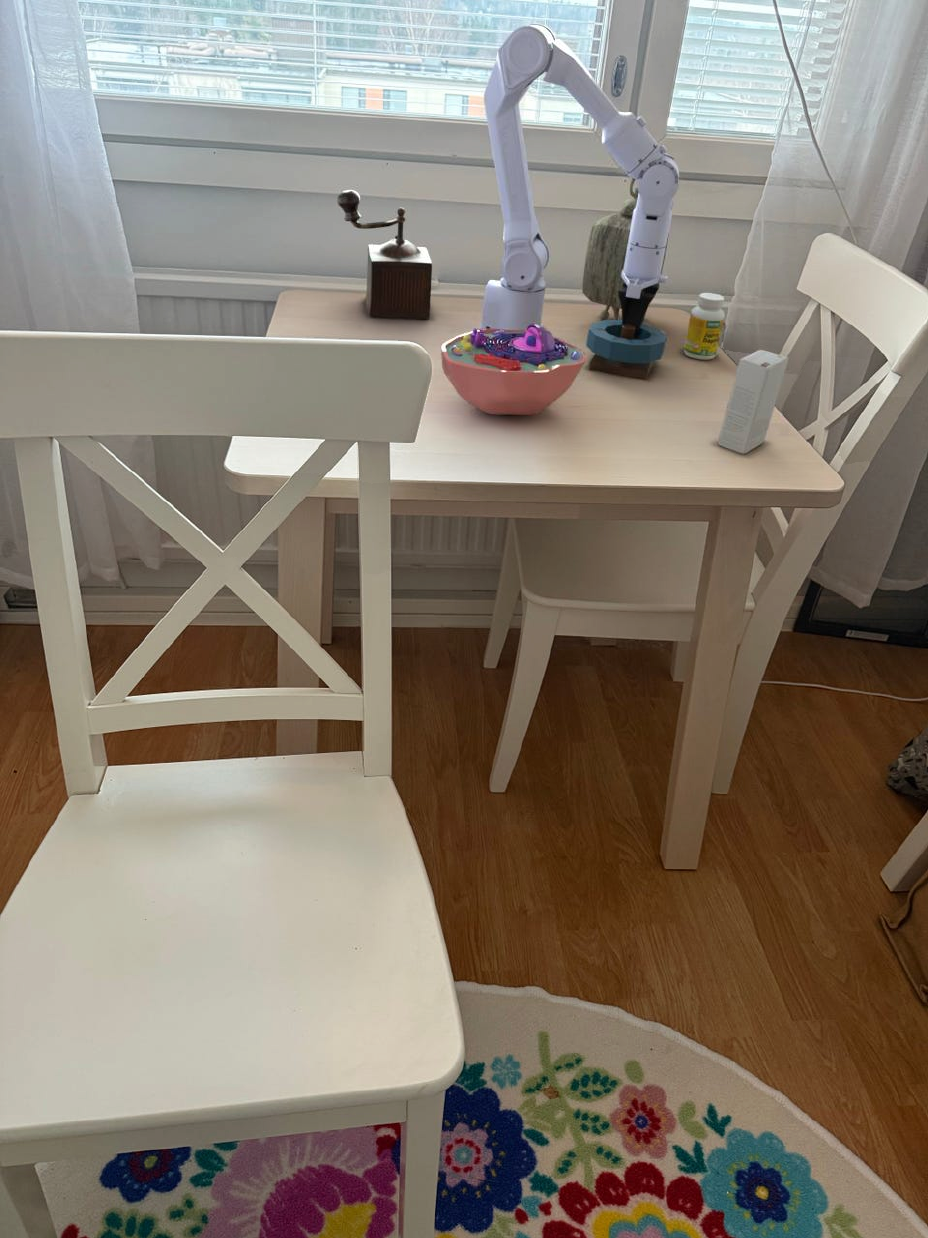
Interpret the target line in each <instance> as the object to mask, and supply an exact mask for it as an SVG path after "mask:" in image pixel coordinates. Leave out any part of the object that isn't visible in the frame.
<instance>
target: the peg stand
mask: <svg viewBox="0 0 928 1238" xmlns="http://www.w3.org/2000/svg"><path fill="white" fill-rule="evenodd" d="M634 333H635V326H633V325H623V326H622V331H621V337H620V338H624V339H629V340H633V338H634ZM654 363H655V361H653V362H650V363H627V362H621V361H616V360H610V359H607V358H604V357H602V356H599V355H597V354H594V355H593V356H592V358H591V359H590V361H589V366H588V370H591V371H596V372H603V373H607V374H614V375H619V376H622V377H623V376H624V377H629V378H634V379H640V380H647V379H648V377H649V375H650V372H651V370H652V368H653V365H654Z"/></svg>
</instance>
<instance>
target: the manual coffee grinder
mask: <svg viewBox="0 0 928 1238" xmlns="http://www.w3.org/2000/svg"><path fill="white" fill-rule="evenodd" d="M336 201H337V205H338V206H339V207H340V208H341V209H342V210H343V212H344V221H345V222H349V223H350V224H351V225H352V226H353V227H355V228H357V229H360V230H363V229H364V230H370V229H371V230H372V229H379V228H381V229H382V228H388V227H392V226H394V225H397V235H395V237H394V238H391V239H390V240H389V241H387V242H385V243H382V244H368V246H367V267H366V269H367V270H366V291H365V292H366V295H365V307H366V312H367V314H368V316H369V317H370V318H375V319H376V318H377V319H397V320H398V319H399V320H430V318H431V314H430V313H431V300H432V299H431V297H432V294H431V293H432V280H433V279H432V276H433V263H432V258H431V257H430V254H429V251H428V249H427V247H423V246H416V245H415V244H413V243H411V242H410V241H409V240H407V239H404V223H405V222H406V217H405V214H406V210H405V208H404V207H402V206H401V207H398V209H397V212H396V213H397V216H396V218H395V219H391V220H385V221H376V222H367V223H365V222H364V223H362V222H359V220H360V219H361V217H362V215H361V214H360V212H359V205H360V202H361V196H360V194H359V192H357V191H355V190H354V189H348V190H343V191H342V192H341V193H340V194H339V195H337V199H336Z"/></svg>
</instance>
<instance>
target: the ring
mask: <svg viewBox="0 0 928 1238" xmlns="http://www.w3.org/2000/svg"><path fill="white" fill-rule="evenodd" d="M621 331H622V319H618V320H615V319H605V320H603V319H602V320H599V321H595V322H592V323H591V324H590V326H589V328H588V331H587V338H586V347H587V349H588V350H589V351H590V353H593V354H594V355H595V354H597V355H599V356H602V357H604V358H607V359H610V360H616V361H621V362H627V363H650V362H653V361H654V362H657V361H660V360H662V358H663V355H664V354H665V349H666V344H667V338H668V335H667V334H666V333H665V332H663V331H662V330H661V329H660V328H657V327H654V326H651V325H648V324H646V323H643V322H642V323H641V325H640V328H639V331H638V333H637V335H636V337H634V338H633V340H629V339H624V338H620V337H621Z"/></svg>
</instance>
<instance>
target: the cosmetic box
mask: <svg viewBox="0 0 928 1238" xmlns="http://www.w3.org/2000/svg"><path fill="white" fill-rule="evenodd" d="M788 362H789V358H788V357H787V356H784V355H781V354H777V353H774V352H771V351H767V350H763V349H758V350H756V351H755V352H753V353H751V354H748V355H746V356H744V357H742V358H740V359H739V362H738V366H737V370H736V373H735V378H734V380H733V384H732V388H731V392H730V396H729V399H728V403H727V406H726V411H725V413H724V417H723V421H722V424H721V429H720V433H719V435H718V439H717V445H718V446H721V447H723V448H725V449H727V450H730V451H733V452H735V453H736V452H737V453H739V454H743V455H746V454H747V453H749V452H750V451H751V450H753V449H755V448H757V447H758V446H759V445H761V444H763V443H764V442H765V441H766V437H767V433H768V431H769V427H770V423H771V420H772V416H773V413H774V410H775V406H776V403H777V399H778V396H779V392H780V389H781V385H782V382H783V380H784V375H785V373H786V369H787V365H788Z"/></svg>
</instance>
